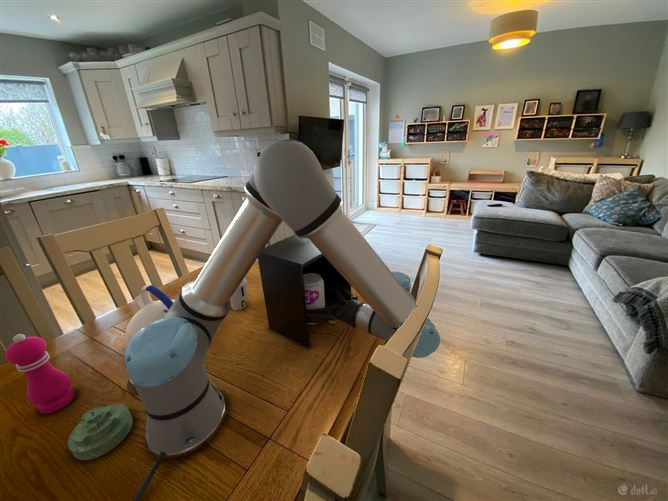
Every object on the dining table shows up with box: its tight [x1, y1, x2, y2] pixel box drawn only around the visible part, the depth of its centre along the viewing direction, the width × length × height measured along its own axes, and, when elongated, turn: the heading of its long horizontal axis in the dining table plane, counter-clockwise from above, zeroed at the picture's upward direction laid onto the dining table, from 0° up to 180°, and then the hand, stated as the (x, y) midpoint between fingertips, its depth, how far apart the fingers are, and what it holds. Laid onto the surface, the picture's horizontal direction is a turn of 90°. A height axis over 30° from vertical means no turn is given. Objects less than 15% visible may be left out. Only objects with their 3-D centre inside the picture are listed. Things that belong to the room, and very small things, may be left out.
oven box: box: [257, 233, 352, 349], centre depth 87 cm, size 17×24×27 cm
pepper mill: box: [4, 333, 76, 415], centre depth 62 cm, size 7×7×20 cm
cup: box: [230, 277, 248, 311], centre depth 98 cm, size 8×8×10 cm
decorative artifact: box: [67, 403, 134, 461], centre depth 56 cm, size 10×7×10 cm
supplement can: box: [303, 273, 326, 325], centre depth 89 cm, size 8×8×15 cm
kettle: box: [124, 284, 176, 346], centre depth 83 cm, size 20×21×18 cm
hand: (304, 294), depth 90 cm, fingers open, 13 cm apart
